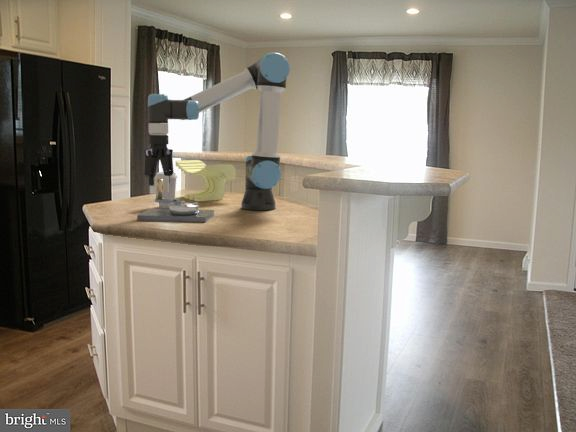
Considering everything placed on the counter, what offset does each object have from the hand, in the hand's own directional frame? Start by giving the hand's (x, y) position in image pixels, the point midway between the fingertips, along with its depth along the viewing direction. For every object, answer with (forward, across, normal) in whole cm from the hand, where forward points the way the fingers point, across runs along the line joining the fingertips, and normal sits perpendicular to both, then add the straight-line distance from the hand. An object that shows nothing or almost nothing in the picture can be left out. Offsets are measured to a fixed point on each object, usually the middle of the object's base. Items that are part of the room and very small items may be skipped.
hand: (159, 192), depth 218 cm
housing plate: (+9, +1, +10) cm, 13 cm away
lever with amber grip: (+7, 0, +8) cm, 11 cm away
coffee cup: (+9, -17, -12) cm, 22 cm away
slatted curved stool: (+9, -48, -16) cm, 52 cm away
